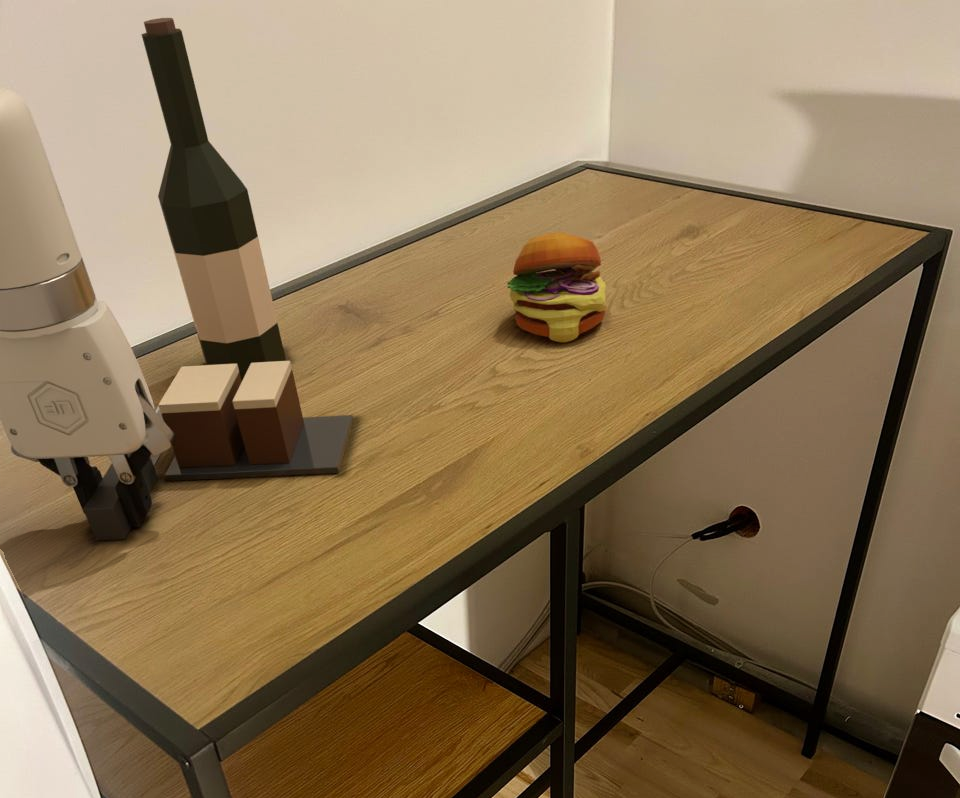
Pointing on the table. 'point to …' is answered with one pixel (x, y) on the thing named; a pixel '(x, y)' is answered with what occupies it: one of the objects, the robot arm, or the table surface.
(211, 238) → the wine bottle
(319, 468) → the board
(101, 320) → the robot arm
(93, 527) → the knife
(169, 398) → the cake
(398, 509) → the table surface
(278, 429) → the cake slice
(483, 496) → the table surface
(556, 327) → the cheeseburger
